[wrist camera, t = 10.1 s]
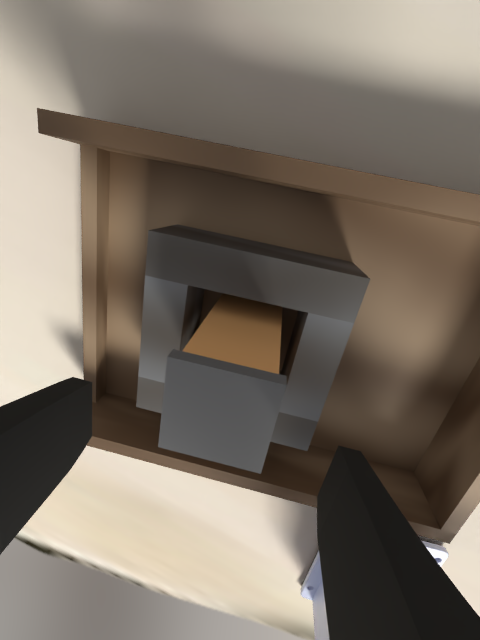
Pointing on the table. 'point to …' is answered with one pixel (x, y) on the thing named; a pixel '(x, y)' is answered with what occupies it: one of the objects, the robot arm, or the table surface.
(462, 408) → the brown wooden box
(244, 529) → the table surface
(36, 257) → the table surface
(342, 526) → the robot arm
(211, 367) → the plug
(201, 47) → the table surface
